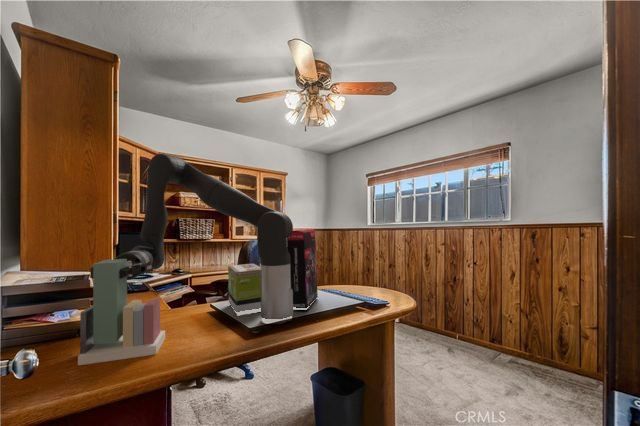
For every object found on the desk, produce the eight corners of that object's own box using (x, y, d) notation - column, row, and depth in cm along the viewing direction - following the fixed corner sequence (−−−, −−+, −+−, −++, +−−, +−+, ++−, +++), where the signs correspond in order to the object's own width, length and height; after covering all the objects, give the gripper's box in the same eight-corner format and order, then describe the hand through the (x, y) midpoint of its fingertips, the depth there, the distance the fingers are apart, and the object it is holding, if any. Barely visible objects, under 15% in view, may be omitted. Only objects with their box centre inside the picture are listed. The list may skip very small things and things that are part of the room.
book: (127, 330, 72) (126, 258, 73) (116, 341, 66) (116, 262, 66) (106, 332, 71) (106, 259, 71) (93, 344, 64) (93, 263, 65)
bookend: (100, 339, 71) (101, 302, 71) (85, 353, 63) (85, 312, 64) (96, 340, 71) (96, 303, 71) (80, 354, 63) (80, 312, 63)
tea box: (227, 305, 105) (227, 265, 106) (255, 301, 110) (254, 262, 110) (236, 317, 92) (235, 270, 92) (266, 312, 96) (266, 268, 97)
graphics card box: (307, 312, 95) (305, 230, 96) (287, 311, 96) (285, 230, 97) (318, 298, 112) (316, 228, 113) (300, 298, 113) (299, 229, 114)
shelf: (165, 338, 76) (165, 296, 76) (156, 354, 66) (156, 306, 67) (97, 346, 71) (98, 302, 72) (77, 365, 62) (78, 313, 62)
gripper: (102, 252, 81) (71, 260, 65) (159, 250, 85) (143, 257, 69) (102, 279, 81) (70, 294, 65) (159, 275, 85) (143, 288, 69)
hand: (108, 274), depth 67 cm, fingers closed on book, 4 cm apart
